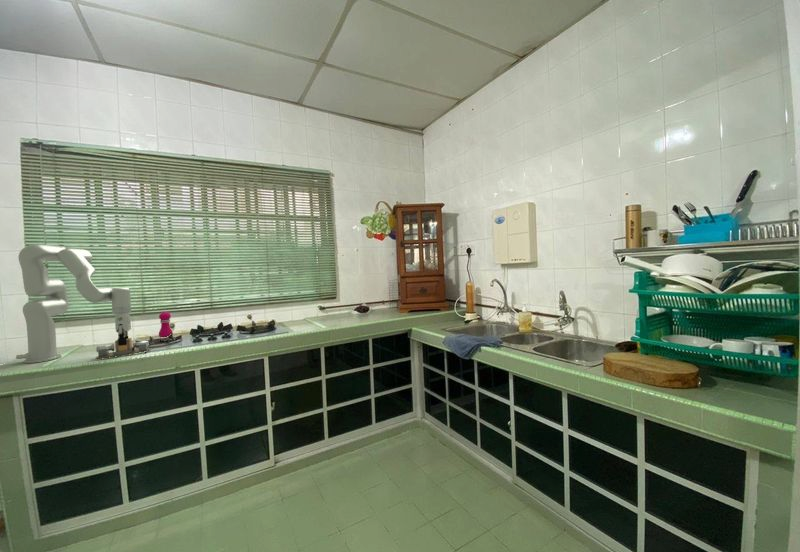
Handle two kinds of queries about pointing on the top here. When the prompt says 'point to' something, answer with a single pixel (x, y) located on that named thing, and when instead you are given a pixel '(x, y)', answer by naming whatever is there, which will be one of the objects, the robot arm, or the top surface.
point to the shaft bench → (104, 351)
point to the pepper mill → (165, 324)
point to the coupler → (124, 347)
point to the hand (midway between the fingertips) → (123, 343)
